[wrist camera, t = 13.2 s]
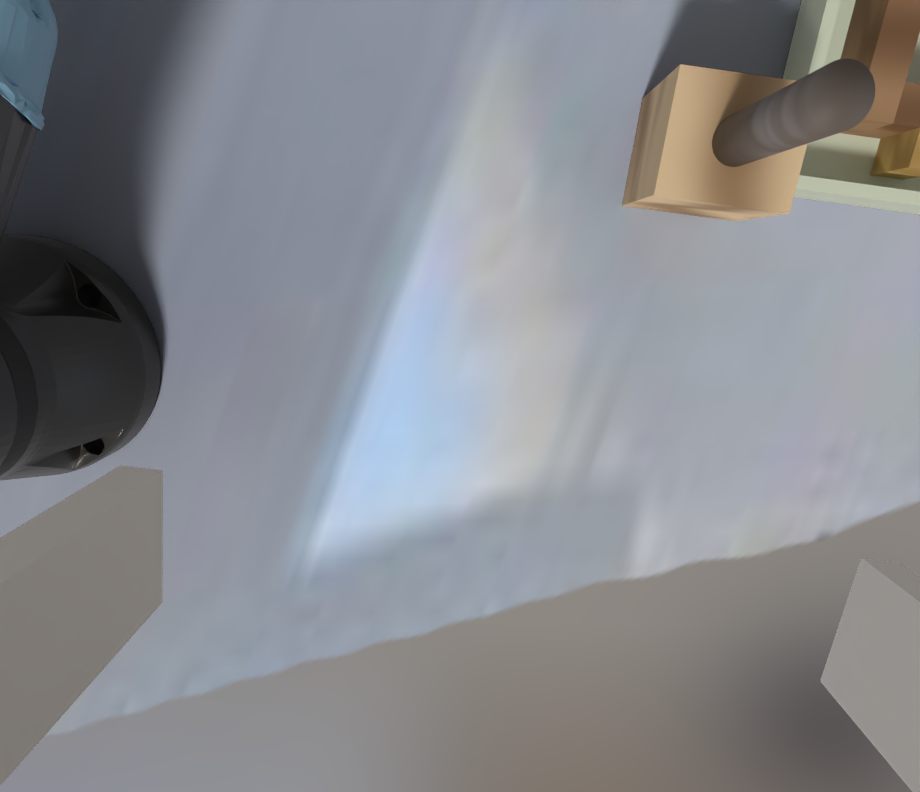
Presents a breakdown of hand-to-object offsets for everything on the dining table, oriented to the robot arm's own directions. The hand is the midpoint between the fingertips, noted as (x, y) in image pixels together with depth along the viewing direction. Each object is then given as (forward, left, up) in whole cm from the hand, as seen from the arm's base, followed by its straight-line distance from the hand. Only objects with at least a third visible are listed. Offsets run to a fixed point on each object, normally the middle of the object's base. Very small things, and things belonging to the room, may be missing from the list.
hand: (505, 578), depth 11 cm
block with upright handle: (+11, +13, -27) cm, 32 cm away
